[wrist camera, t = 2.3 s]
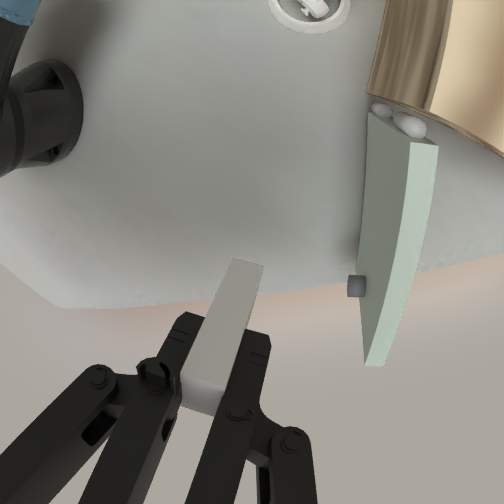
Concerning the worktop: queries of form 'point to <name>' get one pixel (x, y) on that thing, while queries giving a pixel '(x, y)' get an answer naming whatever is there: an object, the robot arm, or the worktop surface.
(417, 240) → the door
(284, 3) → the worktop surface
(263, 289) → the worktop surface
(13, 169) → the robot arm
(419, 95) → the cabinet
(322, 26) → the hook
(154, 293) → the worktop surface
